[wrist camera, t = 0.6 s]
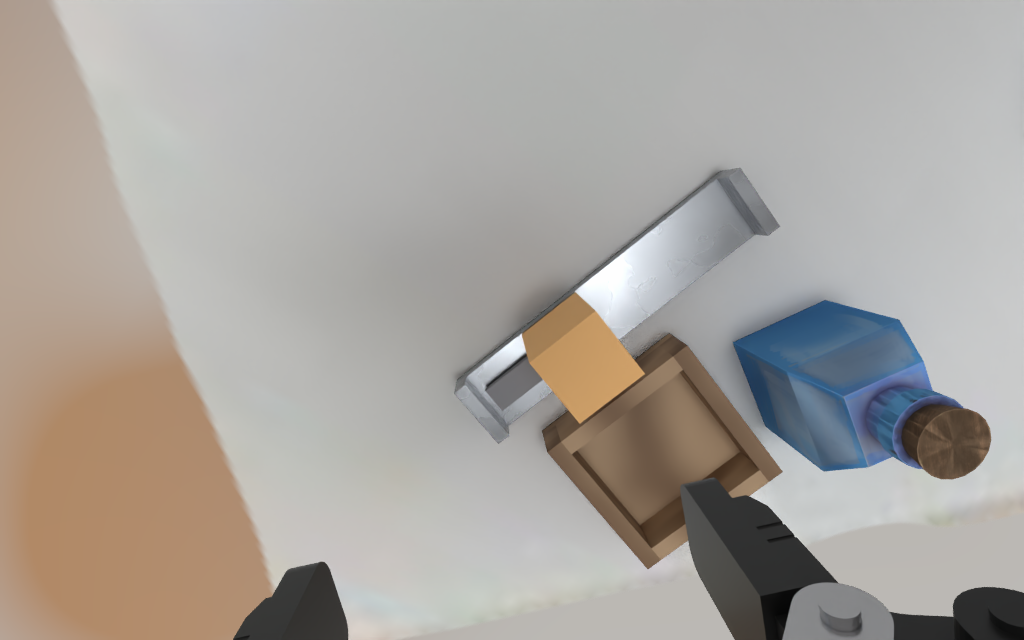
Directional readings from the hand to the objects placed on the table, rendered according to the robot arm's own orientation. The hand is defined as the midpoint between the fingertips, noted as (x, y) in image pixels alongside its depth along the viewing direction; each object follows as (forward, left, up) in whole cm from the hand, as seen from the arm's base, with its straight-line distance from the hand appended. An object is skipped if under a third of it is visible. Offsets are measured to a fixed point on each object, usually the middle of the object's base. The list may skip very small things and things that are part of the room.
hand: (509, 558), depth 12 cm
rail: (-6, +3, -22) cm, 23 cm away
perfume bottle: (-13, +13, -22) cm, 29 cm away
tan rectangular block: (-2, +3, -20) cm, 20 cm away
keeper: (-3, +12, -22) cm, 25 cm away
